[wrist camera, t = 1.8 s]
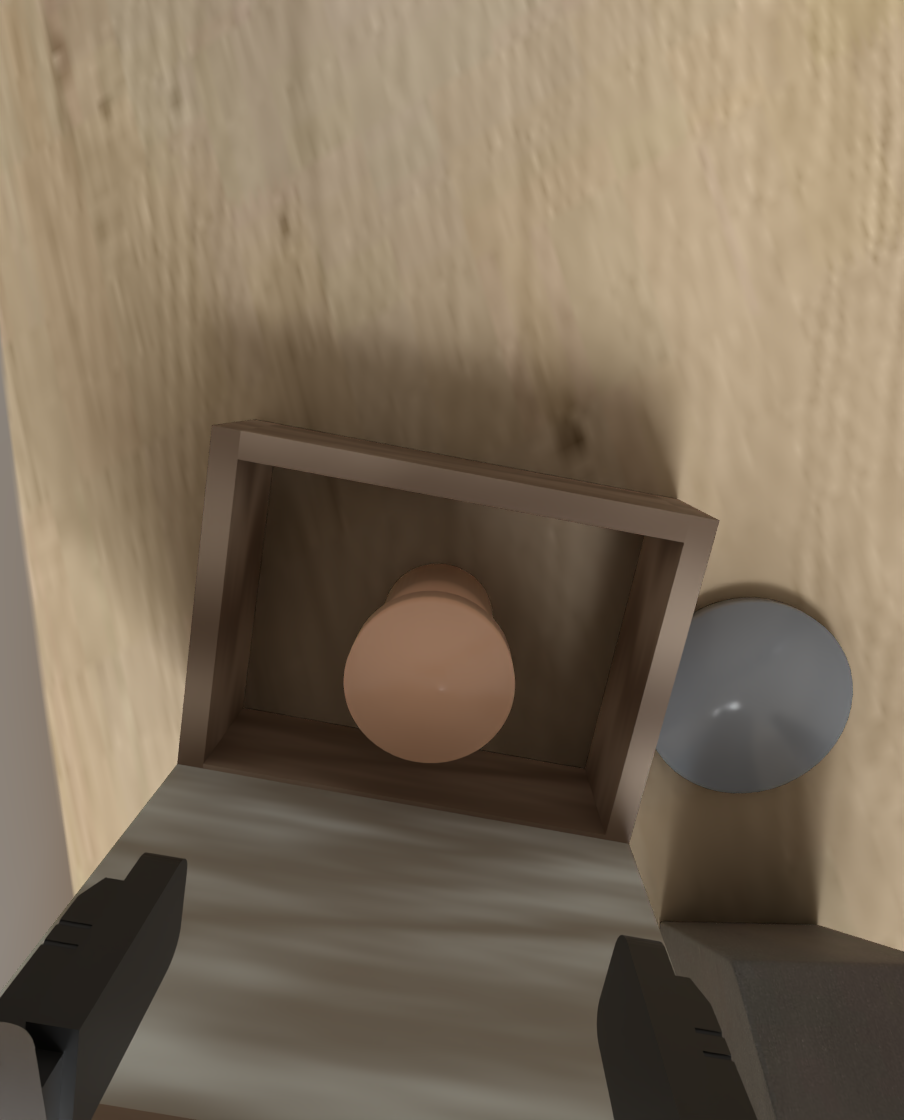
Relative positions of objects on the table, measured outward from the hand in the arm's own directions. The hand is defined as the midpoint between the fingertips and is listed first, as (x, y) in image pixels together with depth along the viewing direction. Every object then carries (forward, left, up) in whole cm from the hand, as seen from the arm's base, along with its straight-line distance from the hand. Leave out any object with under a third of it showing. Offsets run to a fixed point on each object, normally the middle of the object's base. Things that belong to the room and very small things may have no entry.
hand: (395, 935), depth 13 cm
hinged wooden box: (0, 0, -19) cm, 19 cm away
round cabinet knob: (0, 0, -19) cm, 19 cm away
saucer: (+1, +14, -19) cm, 23 cm away
